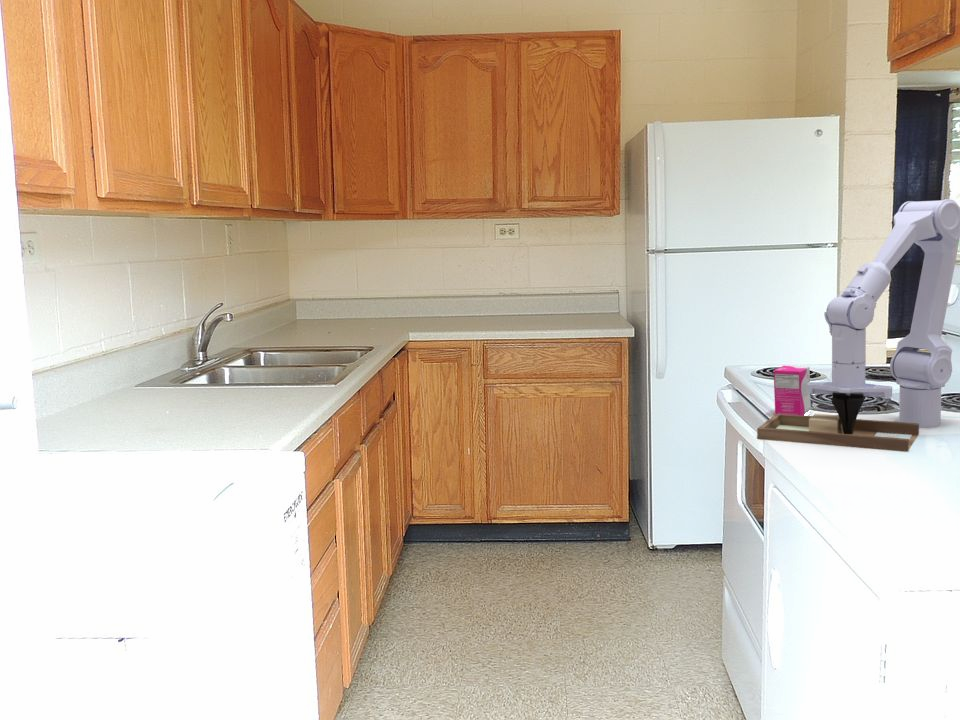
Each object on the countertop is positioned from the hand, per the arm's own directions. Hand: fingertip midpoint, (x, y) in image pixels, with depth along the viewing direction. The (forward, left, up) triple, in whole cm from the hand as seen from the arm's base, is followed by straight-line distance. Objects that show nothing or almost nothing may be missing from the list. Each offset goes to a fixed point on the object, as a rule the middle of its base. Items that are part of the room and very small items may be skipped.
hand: (848, 433), depth 165 cm
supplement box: (-15, -14, -2) cm, 21 cm away
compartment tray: (0, -2, -2) cm, 3 cm away
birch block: (0, -4, -1) cm, 4 cm away
